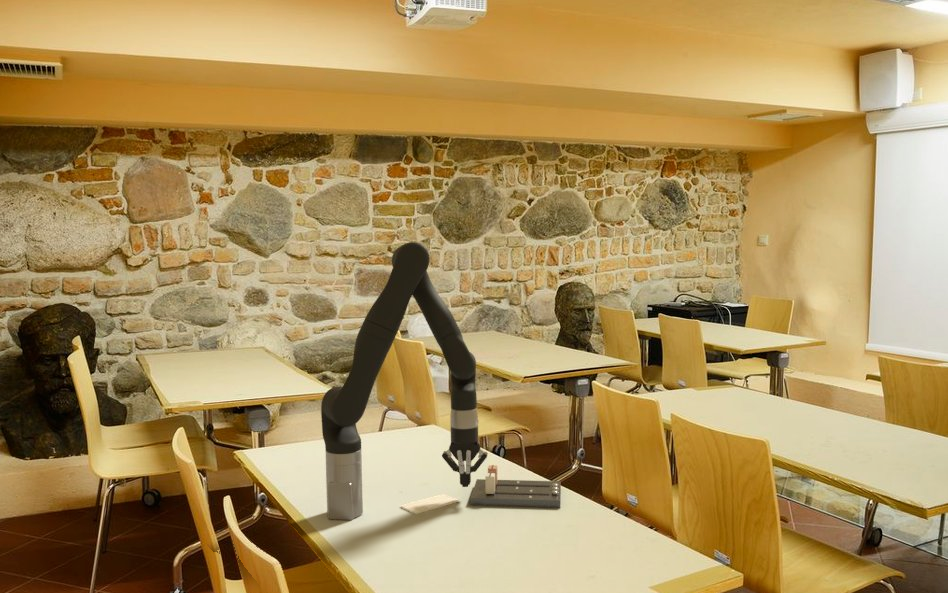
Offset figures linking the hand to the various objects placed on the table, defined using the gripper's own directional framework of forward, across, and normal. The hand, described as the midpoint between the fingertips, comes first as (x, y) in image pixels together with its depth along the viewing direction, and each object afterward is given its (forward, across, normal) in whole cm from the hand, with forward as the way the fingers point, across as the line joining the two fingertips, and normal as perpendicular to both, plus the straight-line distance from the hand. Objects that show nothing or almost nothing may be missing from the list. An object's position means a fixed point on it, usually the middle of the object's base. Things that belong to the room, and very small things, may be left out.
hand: (465, 486), depth 221 cm
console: (+4, +14, +3) cm, 15 cm away
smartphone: (+4, -9, -5) cm, 11 cm away
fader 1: (+2, +7, +7) cm, 10 cm away
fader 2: (+1, +7, 0) cm, 7 cm away
